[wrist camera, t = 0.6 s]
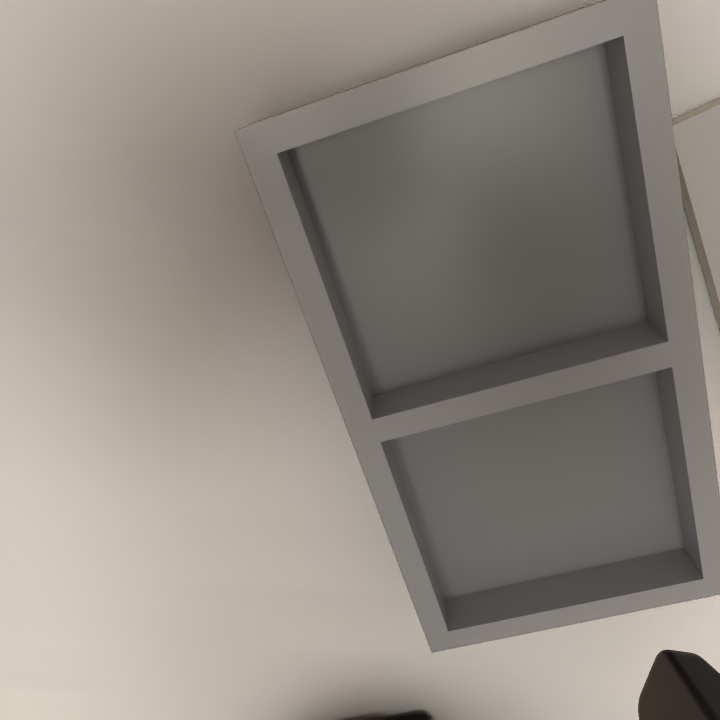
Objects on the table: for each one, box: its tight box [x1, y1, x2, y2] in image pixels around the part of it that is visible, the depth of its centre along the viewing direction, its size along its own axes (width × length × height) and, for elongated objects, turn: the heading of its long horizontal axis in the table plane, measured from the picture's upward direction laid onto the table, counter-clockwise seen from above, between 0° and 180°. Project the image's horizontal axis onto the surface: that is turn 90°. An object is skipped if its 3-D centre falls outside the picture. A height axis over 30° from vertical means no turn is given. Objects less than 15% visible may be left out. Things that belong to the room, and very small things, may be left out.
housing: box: [235, 0, 720, 653], centre depth 20 cm, size 18×10×2 cm, turn 18°
